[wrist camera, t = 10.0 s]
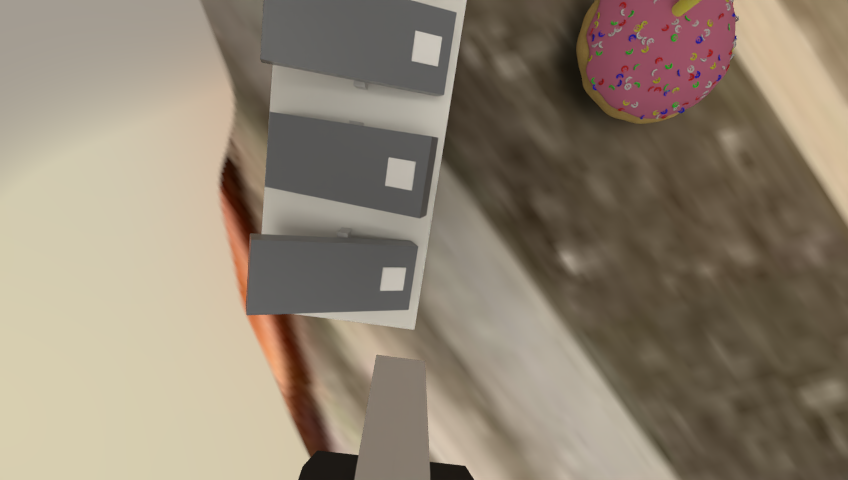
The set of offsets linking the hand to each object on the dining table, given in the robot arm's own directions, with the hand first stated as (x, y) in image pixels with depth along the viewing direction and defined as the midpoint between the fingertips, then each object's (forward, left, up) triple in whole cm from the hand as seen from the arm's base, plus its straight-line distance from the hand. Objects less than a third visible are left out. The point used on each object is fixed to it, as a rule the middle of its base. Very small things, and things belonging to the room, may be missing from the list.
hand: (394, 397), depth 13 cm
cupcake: (-15, +12, -19) cm, 27 cm away
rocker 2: (-6, -4, -11) cm, 13 cm away
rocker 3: (0, -4, -11) cm, 12 cm away
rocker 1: (-12, -4, -11) cm, 17 cm away
